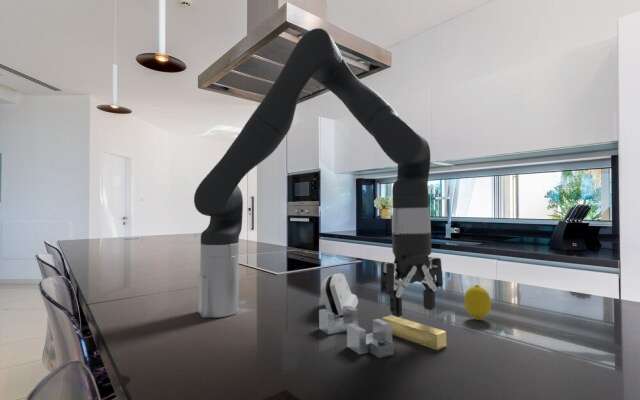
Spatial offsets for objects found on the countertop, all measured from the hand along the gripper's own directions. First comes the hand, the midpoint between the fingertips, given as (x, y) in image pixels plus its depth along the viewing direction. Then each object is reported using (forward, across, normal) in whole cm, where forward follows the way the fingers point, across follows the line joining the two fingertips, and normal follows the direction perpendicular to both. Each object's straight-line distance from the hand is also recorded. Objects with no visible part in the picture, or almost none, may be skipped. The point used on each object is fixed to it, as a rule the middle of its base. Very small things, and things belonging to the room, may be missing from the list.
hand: (413, 312), depth 67 cm
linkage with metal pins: (+5, +10, -6) cm, 13 cm away
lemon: (+5, -21, -1) cm, 21 cm away
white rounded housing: (+5, +2, -24) cm, 25 cm away
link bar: (+5, 0, 0) cm, 5 cm away
